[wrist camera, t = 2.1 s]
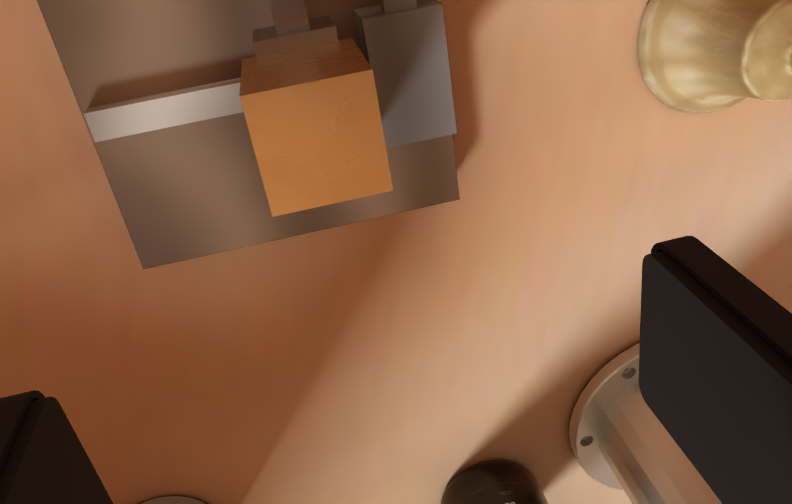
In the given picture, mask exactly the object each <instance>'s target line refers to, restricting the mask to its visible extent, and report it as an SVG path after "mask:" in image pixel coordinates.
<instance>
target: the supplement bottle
mask: <svg viewBox="0 0 792 504" xmlns="http://www.w3.org/2000/svg"><path fill="white" fill-rule="evenodd" d="M441 504H548V502H547V499H546V497H545V495H544V493H543V491H542V489H541V487H540V485H539V483H538V481H537V479H536V478H535V476H534V475H533V474H532V473H531V472H530V471H529V470H528V469H527V468H525V467H524V466H522V465H520V464H518V463H515V462H511V461H505V460H494V461H487V462H483V463H480V464H477V465H474V466H472V467H470V468H468V469H466V470H465V471H463V472H462V473H460V474H459V475H458V476H457V477H455V478H454V479H453V480H452V481H451V483H450V484H449V485H448V487H447V488H446V490H445V492H444V494H443V496H442V500H441Z"/></svg>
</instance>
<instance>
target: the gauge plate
mask: <svg viewBox="0 0 792 504" xmlns="http://www.w3.org/2000/svg"><path fill="white" fill-rule="evenodd" d="M37 2H38V4H39V7H40V9H41V12H42V14H43V17H44V19H45V22H46V24H47V27H48V29H49V32H50V34H51V37H52V40H53V42H54V45H55V47H56V50H57V52H58V55H59V57H60V60H61V62H62V65H63V67H64V70H65V72H66V75H67V77H68V80H69V82H70V85H71V87H72V90H73V92H74V95H75V97H76V100H77V102H78V105H79V108H80V110H81V113H82V115H83V118H84V120H85V123H86V125H87V128H88V130H89V133H90V135H91V138H92V140H93V143H94V145H95V148H96V150H97V153H98V155H99V158H100V160H101V163H102V165H103V168H104V171H105V173H106V176H107V178H108V181H109V183H110V186H111V188H112V191H113V193H114V196H115V198H116V201H117V203H118V206H119V208H120V211H121V213H122V216H123V218H124V221H125V223H126V226H127V228H128V231H129V233H130V236H131V239H132V241H133V244H134V246H135V249H136V251H137V254H138V256H139V259H140V261H141V264H142V266H143V269H147V268H151V267H156V266H160V265H165V264H169V263H174V262H179V261H183V260H188V259H192V258H197V257H201V256H206V255H210V254H215V253H219V252H224V251H228V250H233V249H237V248H242V247H246V246H251V245H255V244H260V243H264V242H269V241H273V240H278V239H282V238H287V237H292V236H296V235H301V234H305V233H310V232H314V231H319V230H323V229H328V228H332V227H337V226H341V225H346V224H350V223H355V222H359V221H364V220H368V219H373V218H377V217H382V216H386V215H391V214H395V213H400V212H405V211H409V210H414V209H418V208H423V207H427V206H432V205H436V204H441V203H445V202H450V201H454V200H459V199H460V197H459V189H458V180H457V172H456V163H455V154H454V146H453V137H452V134H456V133H457V129H456V121H455V112H454V103H453V94H452V85H451V76H450V67H449V59H448V50H447V41H446V32H445V23H444V14H443V6H442V4H441V3H440V2H438V1H437V0H304V2H305V7H306V12H307V16H308V19H312V18H317V17H322V16H327V15H329V16H330V17H331V19H332V21H333V22H334V24H335V26H336V31H337V36H338V40H341V39H347V38H353V40H354V42H355V43H356V45H357V46H358V48H359V49H360V51H361V52H362V54H363V55H364V57H365V58H366V60H367V61H368V63H369V65H370V66H371V68H372V69H373V74H374V80H375V86H376V92H377V98H378V104H379V110H380V116H381V121H382V127H383V133H384V139H385V145H386V151H387V157H388V163H389V169H390V174H391V180H392V186H393V191H389V192H385V193H380V194H375V195H371V196H366V197H362V198H357V199H352V200H348V201H343V202H339V203H334V204H330V205H325V206H320V207H316V208H311V209H307V210H302V211H297V212H293V213H288V214H284V215H279V216H275V217H272V214H271V210H270V206H269V203H268V199H267V195H266V192H265V188H264V184H263V181H262V177H261V173H260V170H259V166H258V162H257V159H256V155H255V152H254V148H253V144H252V141H251V137H250V133H249V130H248V126H247V122H246V119H245V115H244V111H243V108H242V104H241V100H240V97H239V95H240V82H241V69H242V59H245V58H250V57H255V56H256V54H255V50H254V46H253V30H255V29H260V28H266V27H271V26H275V23H274V19H273V15H272V10H271V6H270V2H269V0H37Z"/></svg>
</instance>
